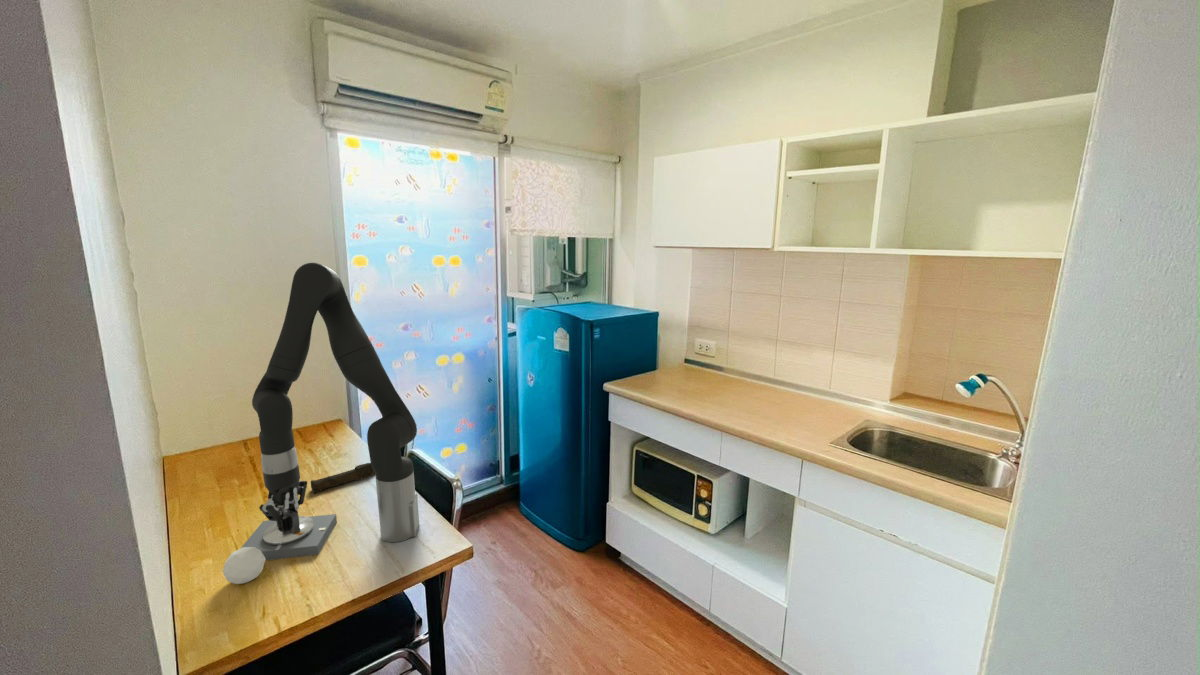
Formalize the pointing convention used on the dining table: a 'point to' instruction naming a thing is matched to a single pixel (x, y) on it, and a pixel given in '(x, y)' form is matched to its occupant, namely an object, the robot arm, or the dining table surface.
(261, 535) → the dial panel
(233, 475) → the dining table surface
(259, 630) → the dining table surface
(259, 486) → the dining table surface
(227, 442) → the dining table surface
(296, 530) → the dial knob
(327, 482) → the hand tool
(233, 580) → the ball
